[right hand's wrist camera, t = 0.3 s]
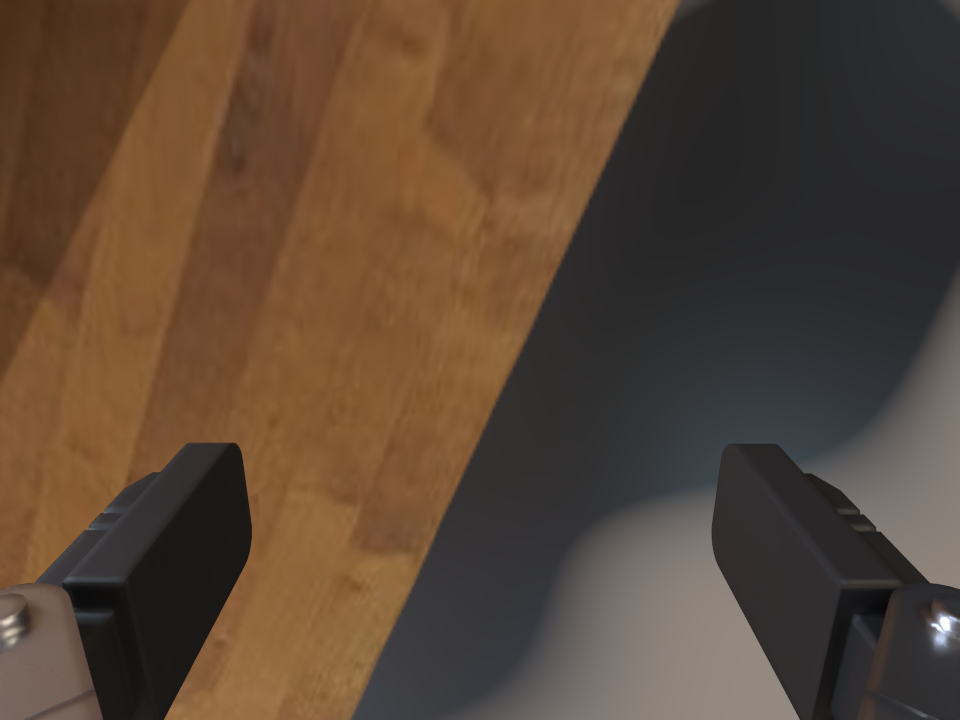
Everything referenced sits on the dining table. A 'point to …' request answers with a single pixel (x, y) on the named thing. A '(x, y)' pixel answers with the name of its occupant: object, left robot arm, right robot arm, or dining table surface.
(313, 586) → the dining table surface
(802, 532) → the right robot arm
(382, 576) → the dining table surface
